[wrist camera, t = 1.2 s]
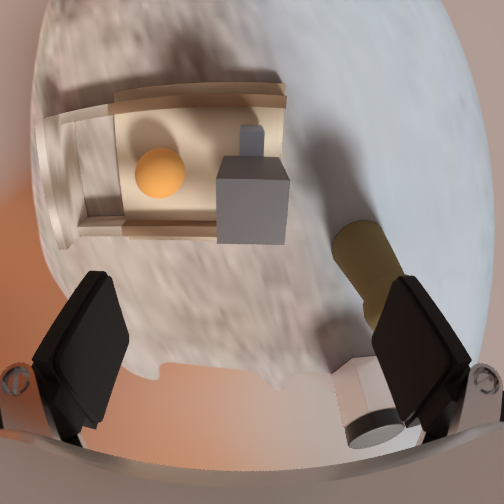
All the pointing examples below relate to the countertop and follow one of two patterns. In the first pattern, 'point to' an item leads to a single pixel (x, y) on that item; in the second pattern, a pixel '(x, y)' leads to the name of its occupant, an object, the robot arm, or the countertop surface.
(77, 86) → the countertop surface
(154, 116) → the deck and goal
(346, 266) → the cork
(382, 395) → the jar
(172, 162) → the ball
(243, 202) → the grey stepped block
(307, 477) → the robot arm
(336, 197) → the countertop surface
